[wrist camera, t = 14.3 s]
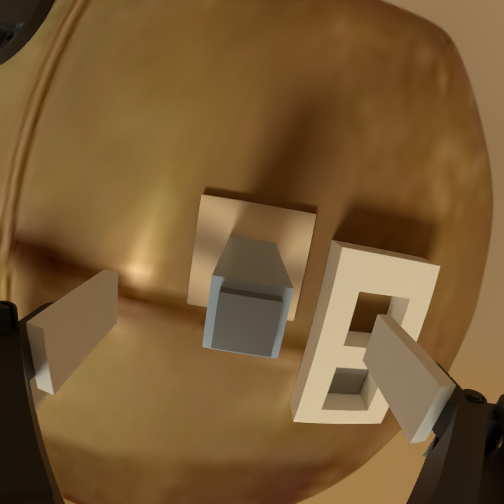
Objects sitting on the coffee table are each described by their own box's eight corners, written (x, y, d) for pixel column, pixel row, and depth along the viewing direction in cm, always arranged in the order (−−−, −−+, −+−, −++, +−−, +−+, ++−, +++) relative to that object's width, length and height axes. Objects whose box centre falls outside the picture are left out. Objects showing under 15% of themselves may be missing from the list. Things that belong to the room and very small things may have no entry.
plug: (229, 235, 27) (209, 279, 14) (275, 242, 28) (295, 294, 15) (222, 279, 28) (200, 354, 15) (267, 286, 28) (278, 366, 15)
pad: (202, 194, 27) (201, 194, 27) (315, 213, 28) (316, 214, 27) (188, 301, 29) (187, 303, 29) (292, 318, 30) (293, 320, 29)
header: (331, 239, 28) (342, 247, 25) (422, 257, 28) (440, 266, 25) (290, 401, 32) (293, 421, 28) (371, 405, 32) (380, 423, 29)
